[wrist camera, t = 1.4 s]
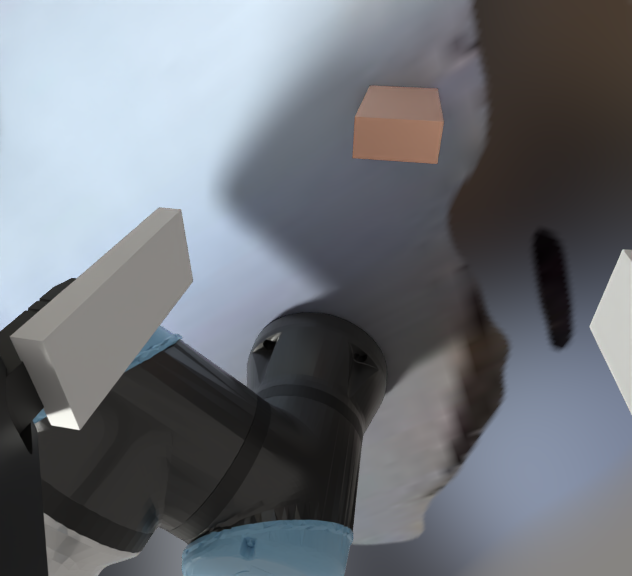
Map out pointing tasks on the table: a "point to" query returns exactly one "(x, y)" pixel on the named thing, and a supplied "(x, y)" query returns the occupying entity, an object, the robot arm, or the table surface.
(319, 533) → the robot arm
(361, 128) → the domino
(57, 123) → the table surface
